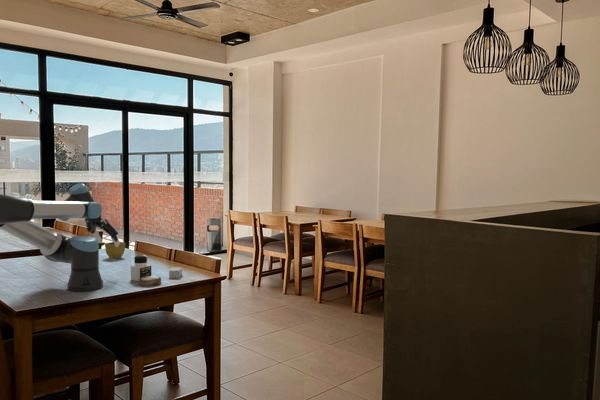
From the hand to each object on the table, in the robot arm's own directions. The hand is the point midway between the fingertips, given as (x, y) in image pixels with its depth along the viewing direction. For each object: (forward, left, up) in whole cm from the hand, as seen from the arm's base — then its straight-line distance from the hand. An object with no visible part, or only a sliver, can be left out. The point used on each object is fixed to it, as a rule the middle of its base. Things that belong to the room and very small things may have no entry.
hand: (109, 243), depth 251 cm
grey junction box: (+5, -37, -15) cm, 41 cm away
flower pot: (+32, +23, -15) cm, 42 cm away
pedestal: (-12, -34, -15) cm, 39 cm away
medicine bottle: (-7, -25, -15) cm, 31 cm away
